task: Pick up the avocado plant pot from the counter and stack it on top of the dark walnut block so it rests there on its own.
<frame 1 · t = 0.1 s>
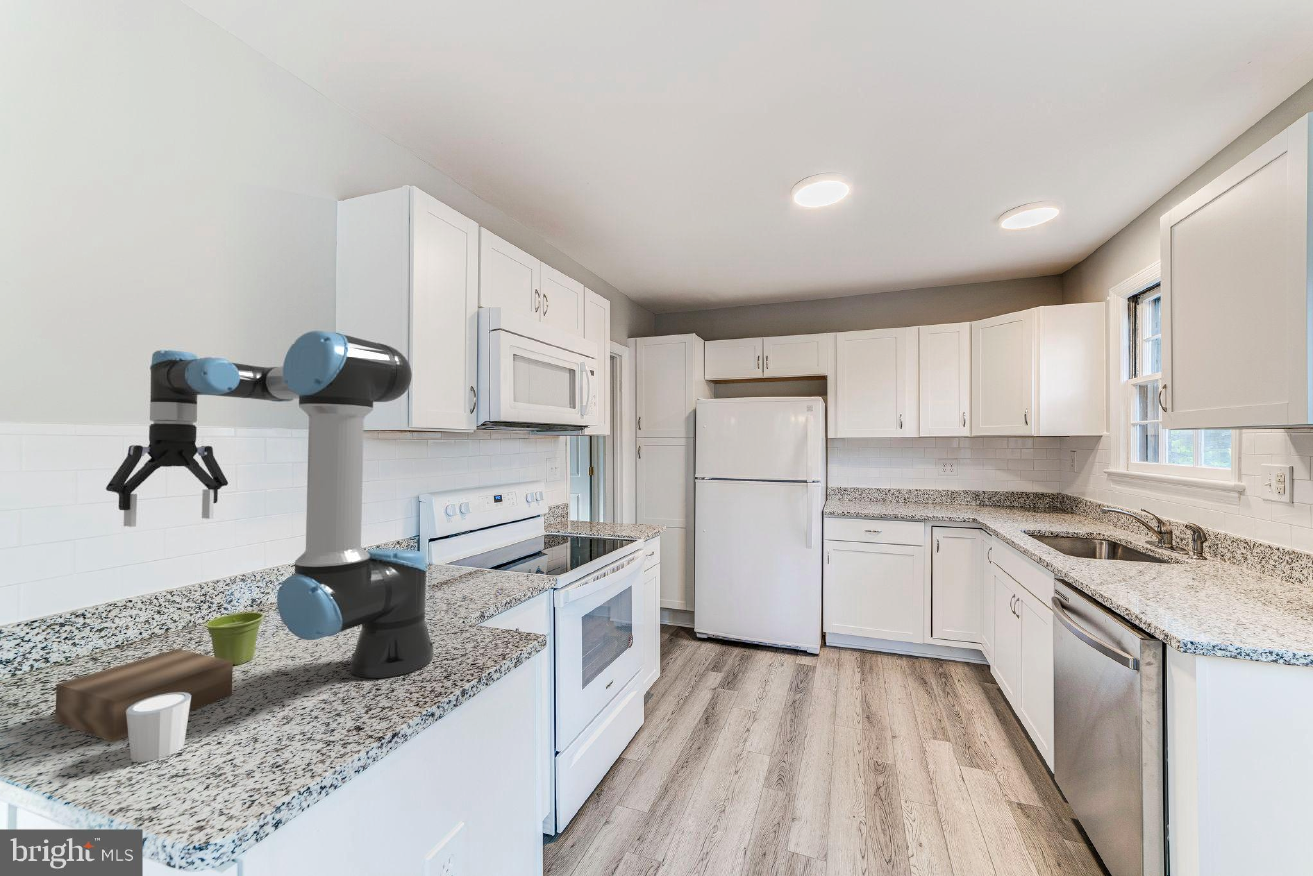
hand: (170, 522, 113), 28 cm above the counter, tool pointing down, fingers open, 13 cm apart
white tapered cup: (158, 752, 76), on the counter
walnut block: (148, 708, 88), on the counter
plant pot: (234, 662, 108), on the counter
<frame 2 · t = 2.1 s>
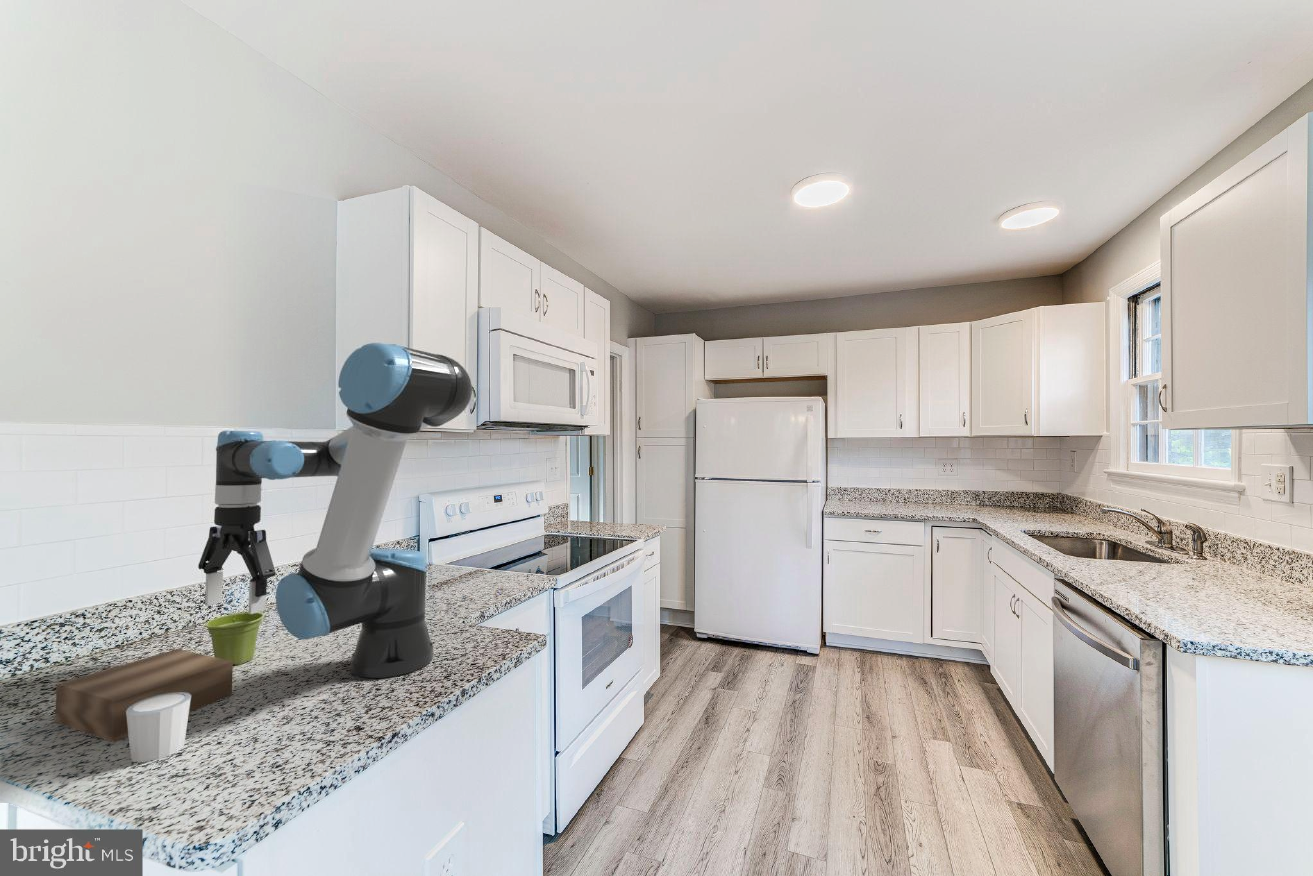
hand: (234, 608, 109), 11 cm above the counter, tool pointing down, fingers open, 13 cm apart
nothing on the counter moved.
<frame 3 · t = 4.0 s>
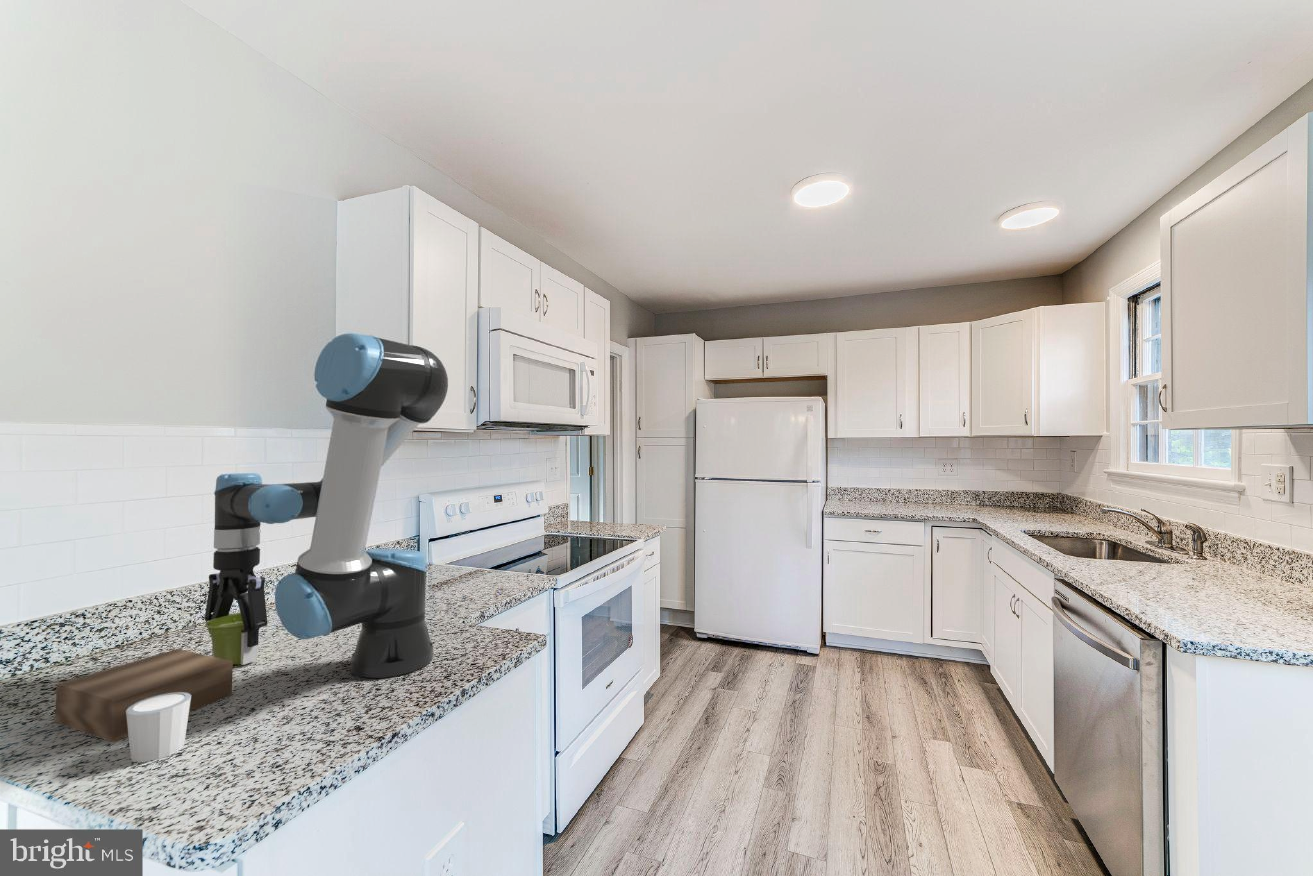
hand: (234, 658, 108), 1 cm above the counter, tool pointing down, fingers closed on plant pot, 8 cm apart
plant pot: (234, 662, 108), on the counter, touching gripper
everything else where it was.
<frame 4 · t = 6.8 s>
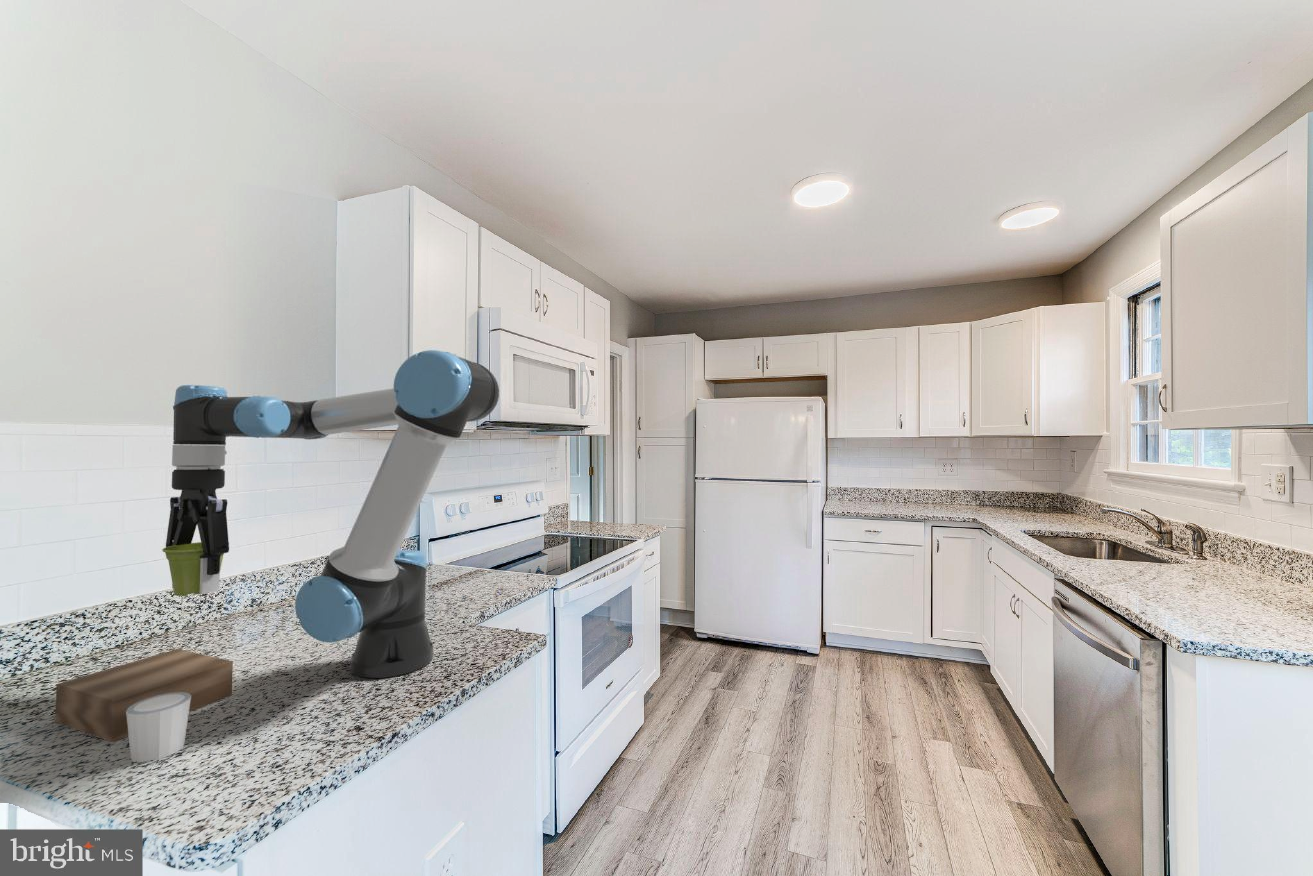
hand: (195, 589, 98), 17 cm above the counter, tool pointing down, fingers closed on plant pot, 8 cm apart
plant pot: (195, 593, 98), point 17 cm above the counter, touching gripper
everything else where it was.
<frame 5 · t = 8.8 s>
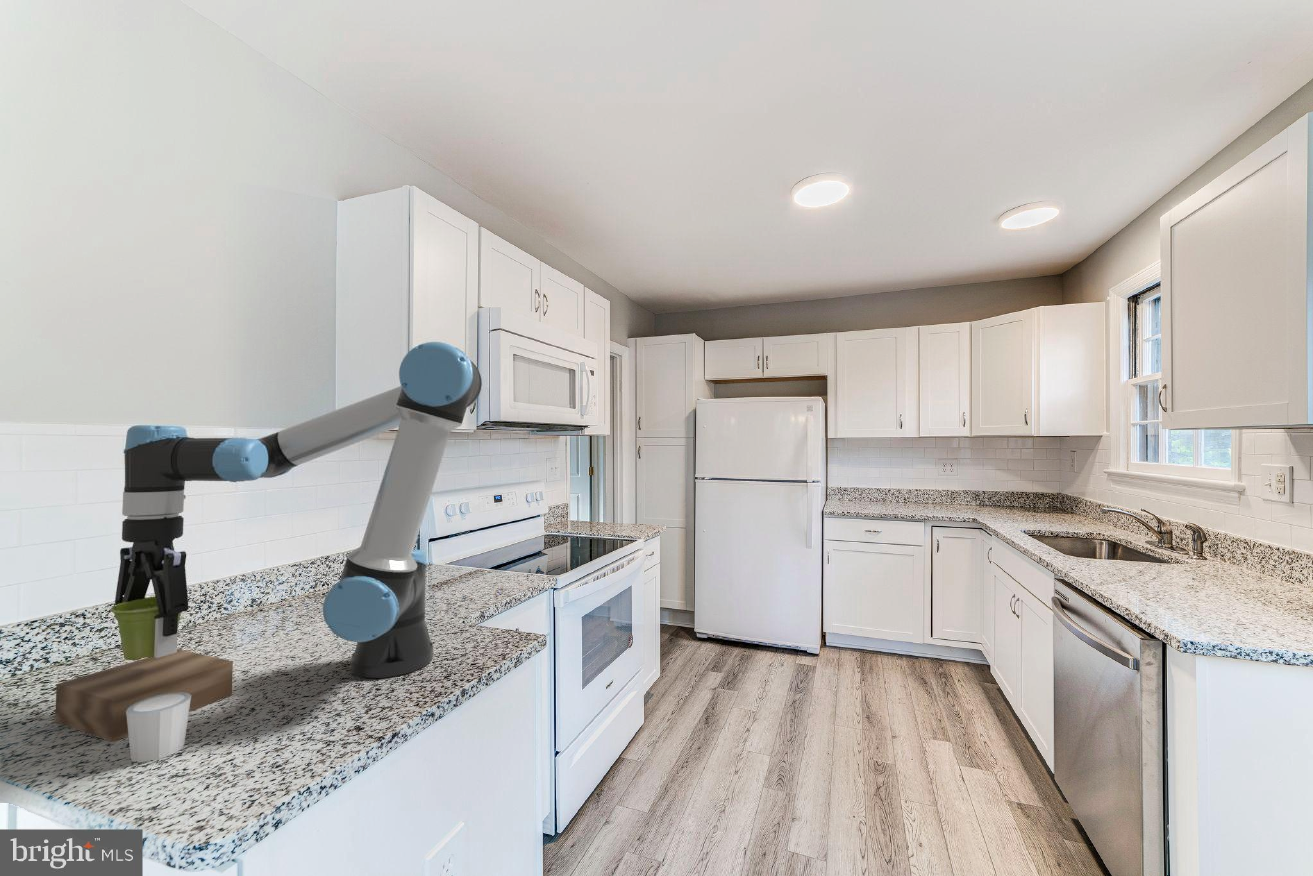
hand: (149, 650, 89), 10 cm above the counter, tool pointing down, fingers closed on plant pot, 8 cm apart
plant pot: (149, 655, 89), point 9 cm above the counter, touching gripper
everything else where it was.
when the fingers open (8 cm above the counter, at t = 10.0 s): plant pot drops 1 cm, resting on walnut block.
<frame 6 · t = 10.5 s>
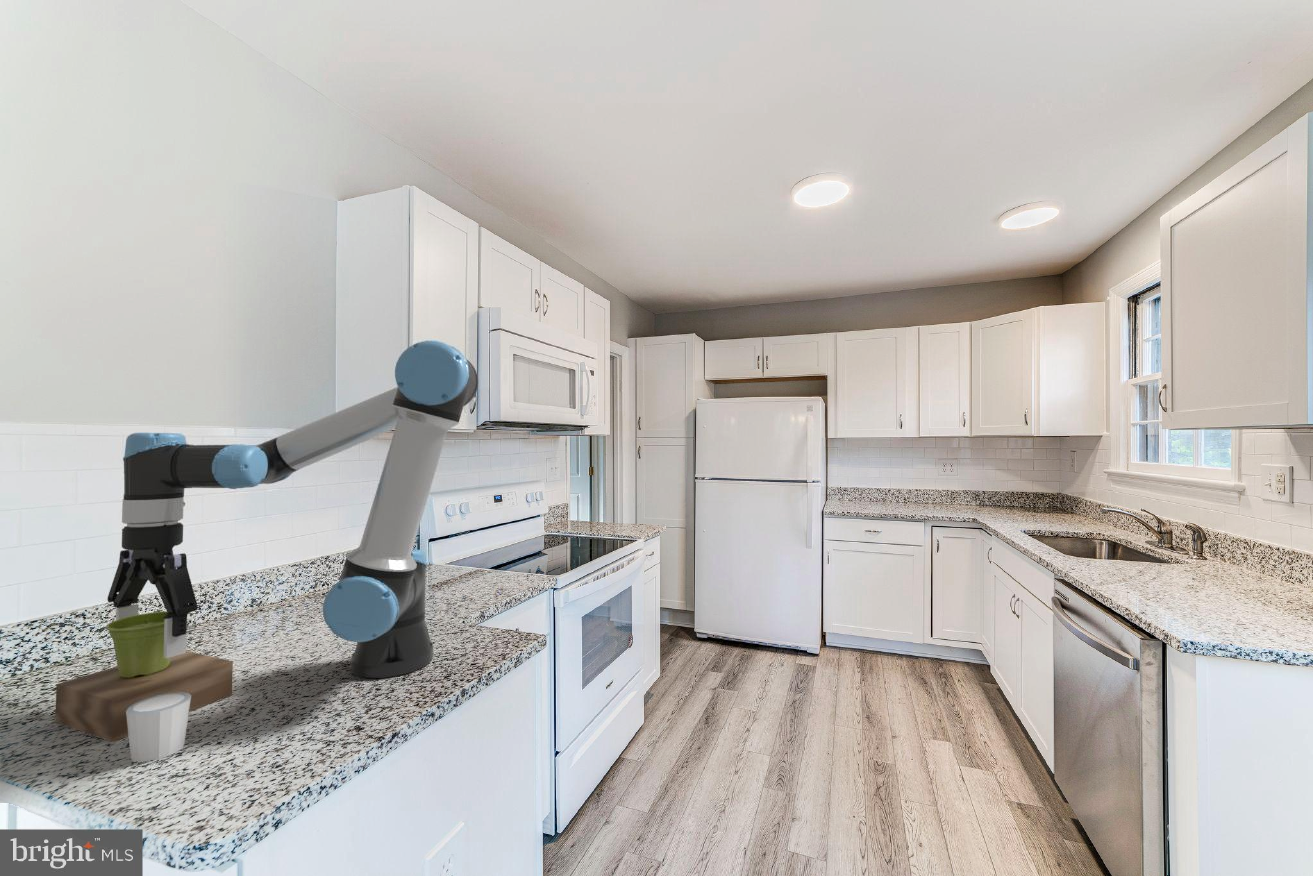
hand: (150, 649, 89), 10 cm above the counter, tool pointing down, fingers open, 13 cm apart
plant pot: (144, 672, 89), point 6 cm above the counter, touching walnut block
everything else where it was.
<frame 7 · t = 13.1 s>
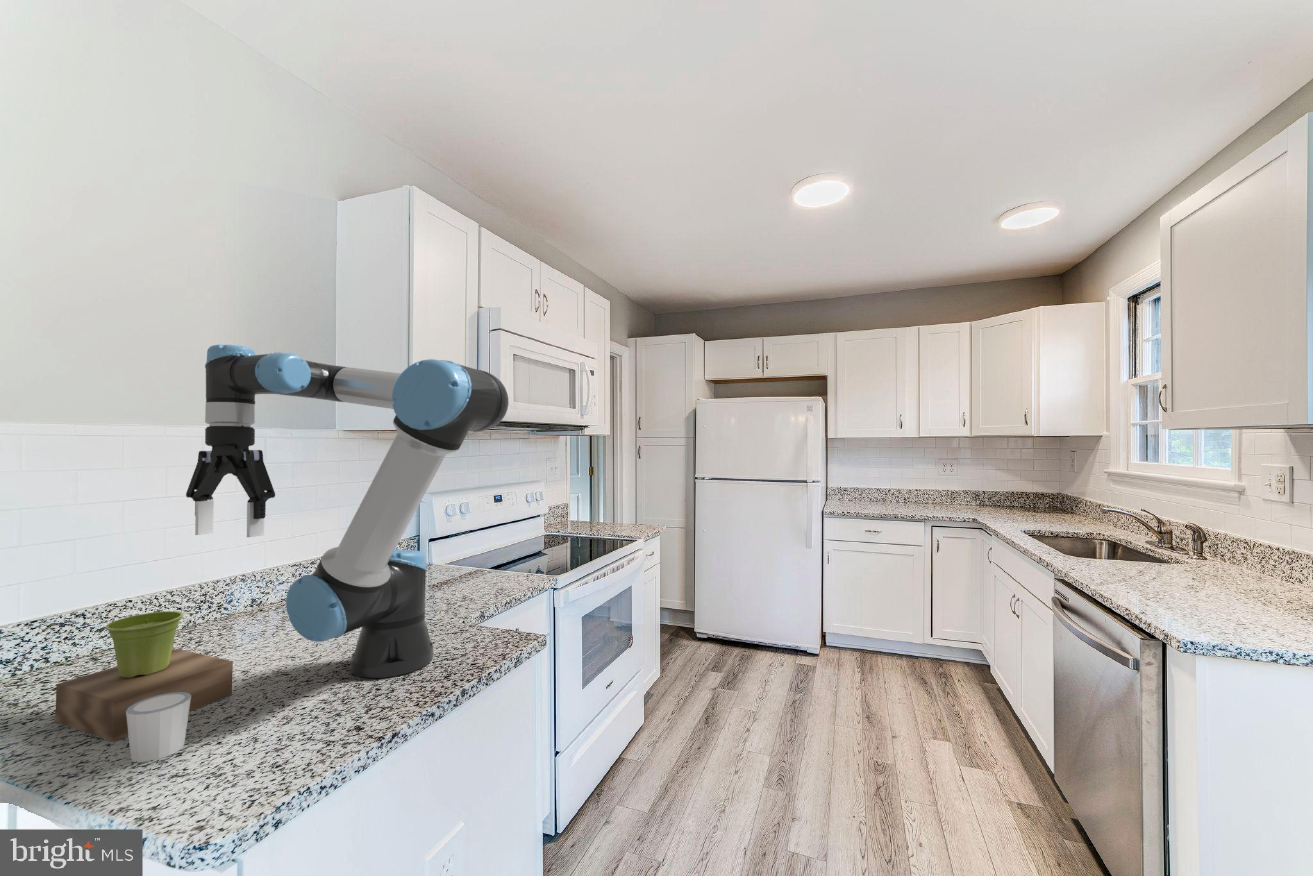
hand: (229, 535, 102), 27 cm above the counter, tool pointing down, fingers open, 13 cm apart
nothing on the counter moved.
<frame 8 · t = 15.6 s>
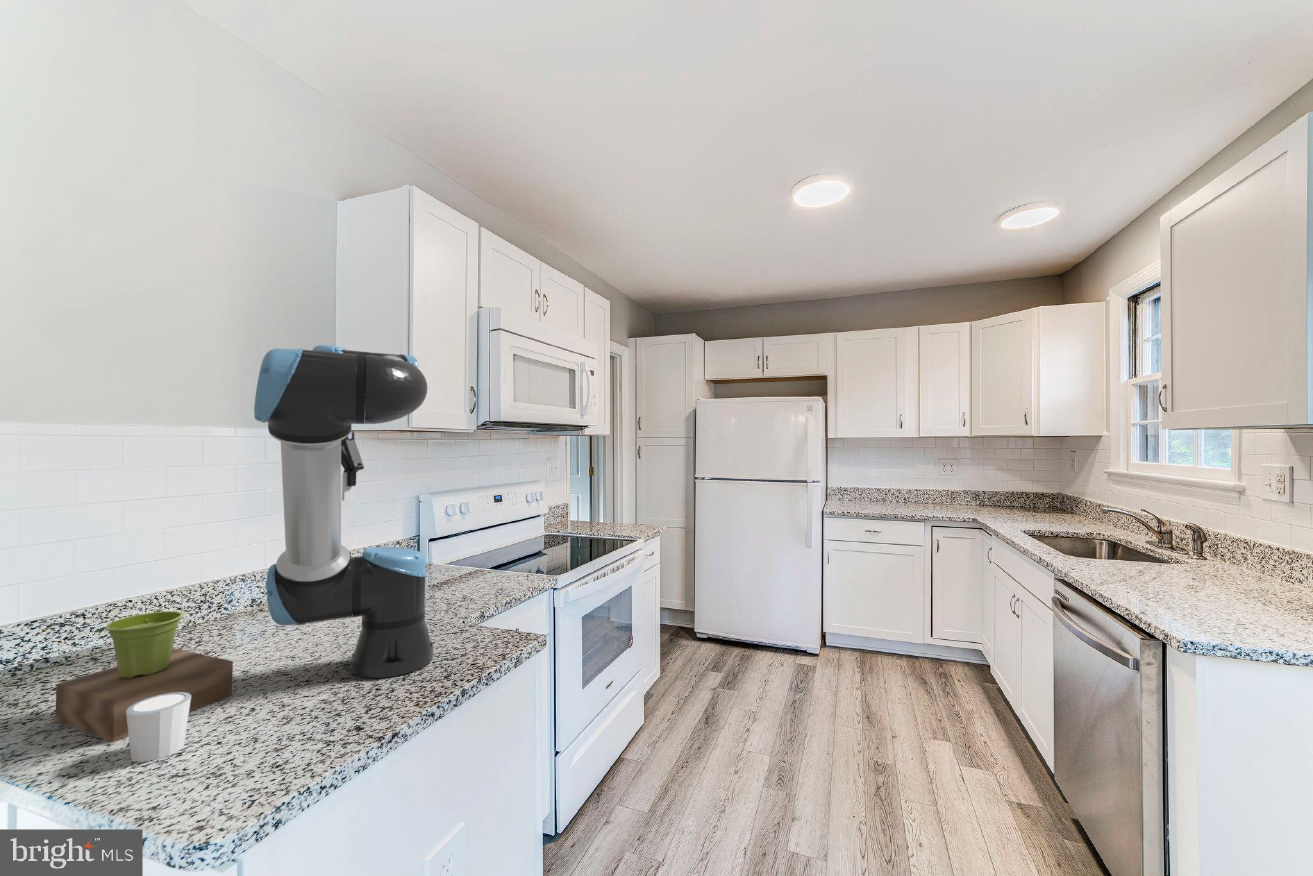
hand: (327, 499, 126), 32 cm above the counter, tool pointing down, fingers open, 13 cm apart
nothing on the counter moved.
at the end: plant pot inside the target area on the walnut block (1.4 cm from its centre), point 5.8 cm above the walnut block's base; plant pot touching walnut block; plant pot tilted 0° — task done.
